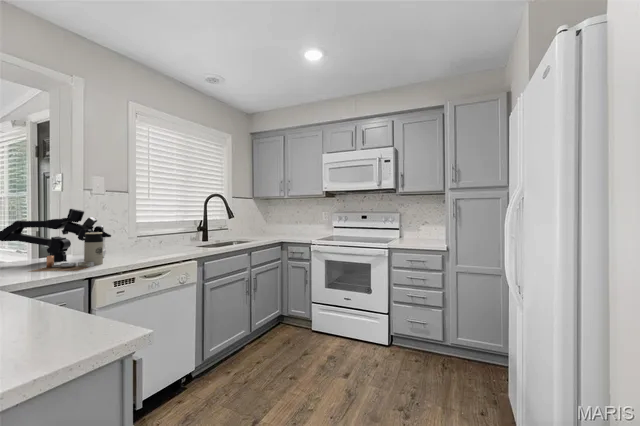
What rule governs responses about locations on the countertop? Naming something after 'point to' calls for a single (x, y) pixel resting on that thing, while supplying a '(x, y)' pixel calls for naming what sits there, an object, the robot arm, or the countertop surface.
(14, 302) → the countertop surface
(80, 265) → the stand
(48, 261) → the grey ball copper handle
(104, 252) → the plastic bottle
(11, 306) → the countertop surface
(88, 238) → the travel mug
